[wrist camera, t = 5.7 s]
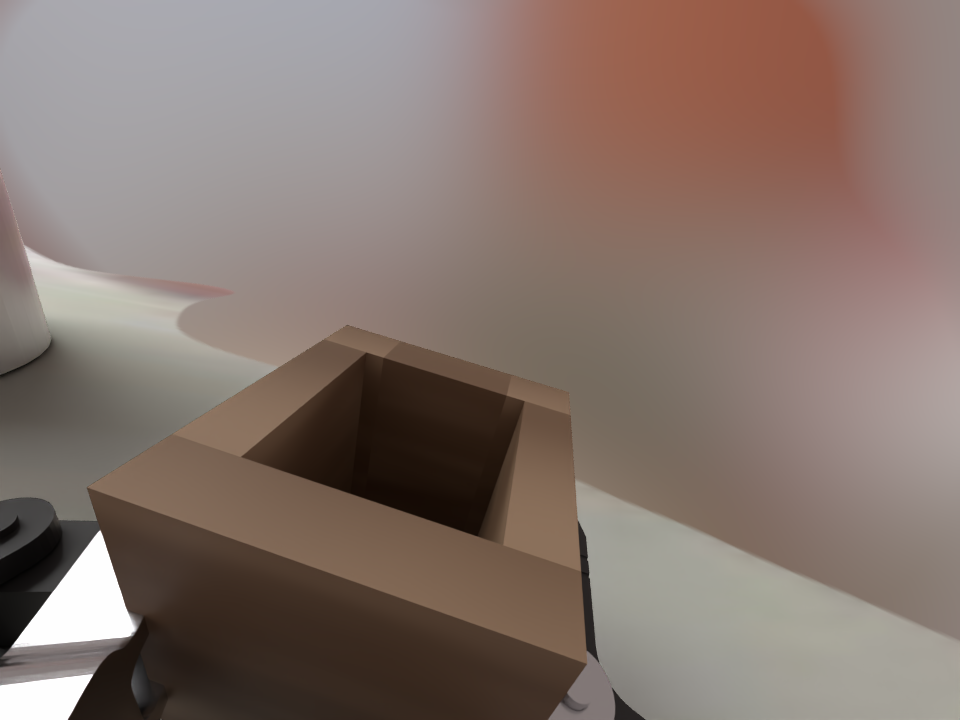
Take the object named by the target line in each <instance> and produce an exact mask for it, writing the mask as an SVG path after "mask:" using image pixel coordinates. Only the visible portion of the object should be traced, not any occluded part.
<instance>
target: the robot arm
mask: <svg viewBox="0 0 960 720" xmlns="http://www.w3.org/2000/svg"><path fill="white" fill-rule="evenodd" d="M51 339H52V338H51V335H50V332H49V329H48V325H47V322H46V319H45V315H44V312H43V309H42V305H41V302H40V299H39V295H38V292H37V289H36V285H35V282H34V279H33V275H32V271H31V267H30V264H29V261H28V257H27V254H26V251H25V248H24V244H23V241H22V238H21V235H20V231H19V228H18V225H17V221H16V218H15V215H14V212H13V208H12V205H11V202H10V199H9V195H8V192H7V189H6V186H5V182H4V179H3V176H2V173H1V169H0V375H1V374H4V373H6V372H9V371H11V370H13V369H16V368H18V367H20V366H22V365H25V364H27V363H28V362H30V361H32V360H33V359H35V358H37V357H38V356H40V355H41V354H42V353H43V352H44V351H45V350H46V349H47V348H48V347H49V345H50V342H51ZM578 534H579V548H580V563H581V578H582V592H583V607H584V622H585V637H586V651H587V665H586V667H585V668H584V669H583V671H582V672H581V674H580V675H579V676H578V678H577V679H576V681H575V682H574V684H573V685H572V686H571V688H570V689H569V691H568V692H567V693H566V695H565V696H564V698H563V699H562V701H561V702H560V703H559V705H558V706H557V708H556V709H555V710H554V712H553V713H552V715H551V716H550V718H549V719H548V720H645V719H644V718H643V717H641V716H640V715H639V714H638V713H636V712H635V711H634V710H632V709H631V708H630V707H629V706H628V705H627V704H625V702H624V701H623V700H622V699H621V698H620V697H619V696H618V695H617V694H616V692H615V691H614V690H613V688H612V687H611V684H610V682H609V679H608V677H607V675H606V673H605V671H604V670H603V668H602V667H601V665H600V663H599V660H598V656H597V651H596V644H595V633H594V622H593V610H592V599H591V588H590V578H589V565H588V561H587V558H588V554H587V543H586V536H585V534H584V532H583V530H582V528H581V526H580V524H579V521H578ZM148 636H149V631H148V627H147V624H146V621H145V617H144V616H143V615H141V614H138V613H135V612H133V611H130V610H127V609H126V608H125V604H124V601H123V598H122V595H121V592H120V589H119V586H118V583H117V580H116V576H115V573H114V570H113V567H112V564H111V561H110V558H109V555H108V552H107V549H106V545H105V542H104V539H103V536H102V533H101V530H100V527H99V524H98V521H64V520H58V518H57V515H56V513H55V510H54V508H53V506H52V505H51V504H50V503H49V502H47V501H45V500H42V499H38V498H16V499H9V500H4V501H0V720H160V719H161V716H162V713H163V711H164V708H165V706H166V703H167V701H168V696H167V693H166V689H165V686H164V685H162V684H159V683H157V682H154V681H152V680H149V679H148V676H147V673H146V670H145V667H144V663H143V660H142V657H141V654H140V652H141V650H142V648H143V646H144V644H145V642H146V640H147V638H148Z"/></svg>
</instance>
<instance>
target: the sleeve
mask: <svg viewBox="0 0 960 720" xmlns="http://www.w3.org/2000/svg"><path fill="white" fill-rule="evenodd" d="M571 431H572V430H571V416H570V402H569V392H566V391H563V390H559V389H556V388H553V387H550V386H546V385H543V384H540V383H536V382H533V381H530V380H526V379H523V378H520V377H517V376H513V375H510V374H507V373H503V372H500V371H497V370H494V369H490V368H487V367H484V366H480V365H477V364H474V363H470V362H467V361H464V360H461V359H457V358H454V357H450V356H447V355H444V354H441V353H437V352H434V351H431V350H428V349H424V348H421V347H418V346H415V345H411V344H408V343H405V342H401V341H398V340H395V339H392V338H388V337H385V336H382V335H378V334H375V333H372V332H368V331H365V330H362V329H359V328H355V327H352V326H349V325H346V326H345V327H343V328H342V329H340V330H338V331H337V332H335V333H333V334H332V335H330V336H329V337H327V338H325V339H324V340H322V341H321V342H319V343H318V344H316V345H314V346H313V347H311V348H310V349H308V350H306V351H305V352H303V353H301V354H300V355H298V356H297V357H295V358H293V359H292V360H290V361H289V362H287V363H285V364H284V365H282V366H281V367H279V368H277V369H276V370H274V371H273V372H271V373H269V374H268V375H266V376H265V377H263V378H261V379H260V380H258V381H257V382H255V383H253V384H252V385H250V386H249V387H247V388H245V389H244V390H242V391H240V392H239V393H237V394H236V395H234V396H232V397H231V398H229V399H228V400H226V401H224V402H223V403H221V404H220V405H218V406H216V407H215V408H213V409H212V410H210V411H208V412H207V413H205V414H204V415H202V416H200V417H199V418H197V419H196V420H194V421H192V422H191V423H189V424H188V425H186V426H184V427H183V428H181V429H180V430H178V431H176V432H175V433H173V434H172V435H170V436H168V437H167V438H165V439H164V440H162V441H160V442H159V443H157V444H156V445H154V446H152V447H151V448H149V449H147V450H146V451H144V452H143V453H141V454H139V455H138V456H136V457H135V458H133V459H131V460H130V461H128V462H127V463H125V464H123V465H122V466H120V467H119V468H117V469H115V470H114V471H112V472H111V473H109V474H107V475H106V476H104V477H103V478H101V479H99V480H98V481H96V482H95V483H93V484H91V485H90V486H88V487H87V490H88V493H89V496H90V499H91V502H92V505H93V508H94V511H95V514H96V518H97V521H98V524H99V527H100V530H101V533H102V536H103V539H104V542H105V545H106V549H107V552H108V555H109V558H110V561H111V564H112V567H113V570H114V573H115V576H116V580H117V583H118V586H119V589H120V592H121V595H122V598H123V601H124V604H125V608H126V609H127V610H130V611H133V612H135V613H138V614H141V615H143V616H144V617H145V621H146V624H147V627H148V631H149V636H148V638H147V640H146V642H145V644H144V646H143V648H142V650H141V652H140V654H141V657H142V660H143V663H144V667H145V670H146V673H147V676H148V679H149V680H152V681H154V682H157V683H159V684H162V685H164V686H165V689H166V693H167V696H168V701H167V703H166V706H165V708H164V711H163V713H162V716H161V719H162V720H548V719H549V718H550V716H551V715H552V713H553V712H554V710H555V709H556V708H557V706H558V705H559V703H560V702H561V701H562V699H563V698H564V696H565V695H566V693H567V692H568V691H569V689H570V688H571V686H572V685H573V684H574V682H575V681H576V679H577V678H578V676H579V675H580V674H581V672H582V671H583V669H584V668H585V667H586V665H587V651H586V637H585V622H584V607H583V592H582V578H581V563H580V548H579V534H578V519H577V504H576V489H575V475H574V461H573V446H572V432H571Z"/></svg>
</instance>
